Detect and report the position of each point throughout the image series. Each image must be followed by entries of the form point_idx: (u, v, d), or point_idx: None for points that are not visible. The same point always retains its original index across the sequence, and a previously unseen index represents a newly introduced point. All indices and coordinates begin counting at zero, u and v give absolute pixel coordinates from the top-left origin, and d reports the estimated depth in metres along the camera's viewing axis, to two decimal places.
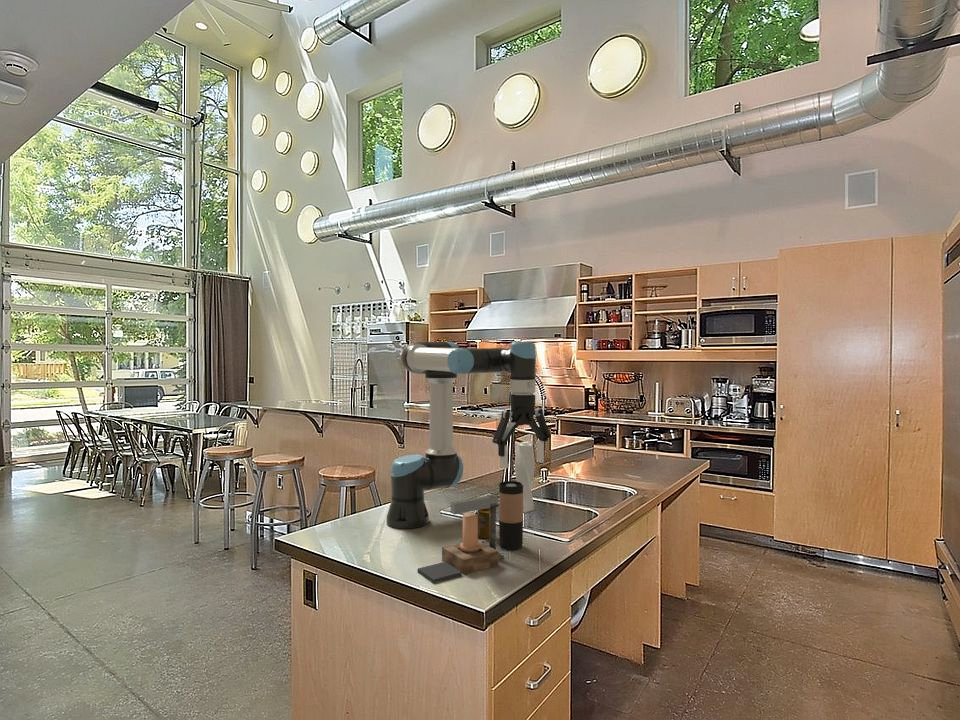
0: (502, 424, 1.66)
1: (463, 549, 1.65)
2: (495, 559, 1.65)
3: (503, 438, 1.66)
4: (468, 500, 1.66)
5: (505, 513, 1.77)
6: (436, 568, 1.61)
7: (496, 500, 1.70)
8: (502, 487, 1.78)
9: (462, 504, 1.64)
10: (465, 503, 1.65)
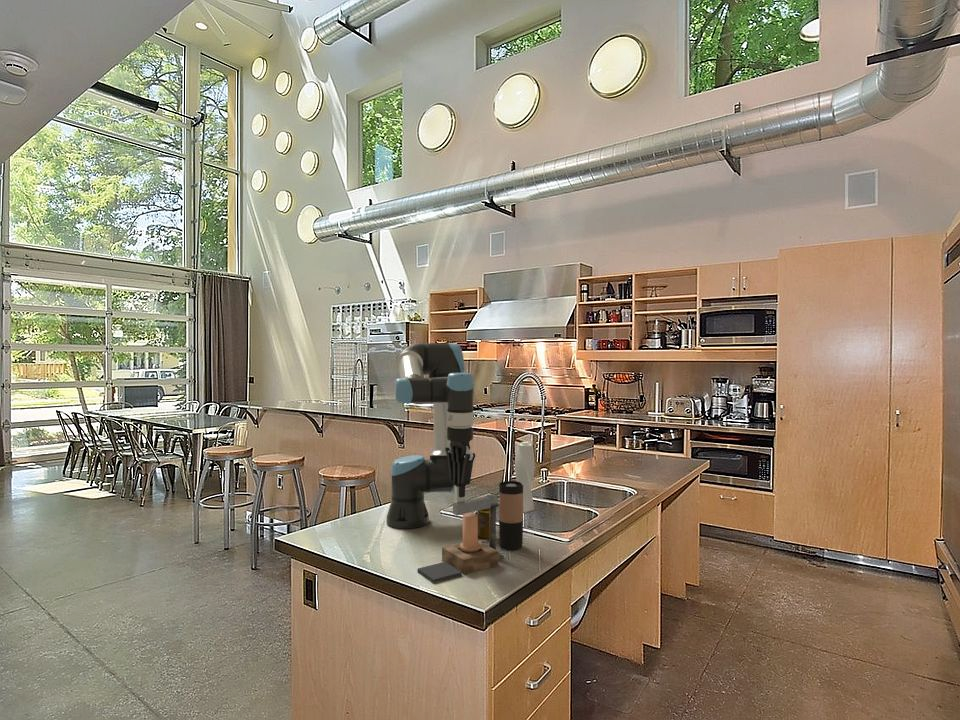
0: None
1: (463, 549, 1.65)
2: (495, 559, 1.65)
3: None
4: (469, 501, 1.66)
5: (505, 513, 1.77)
6: (436, 568, 1.61)
7: (496, 500, 1.70)
8: (502, 487, 1.78)
9: (464, 505, 1.63)
10: (467, 504, 1.64)
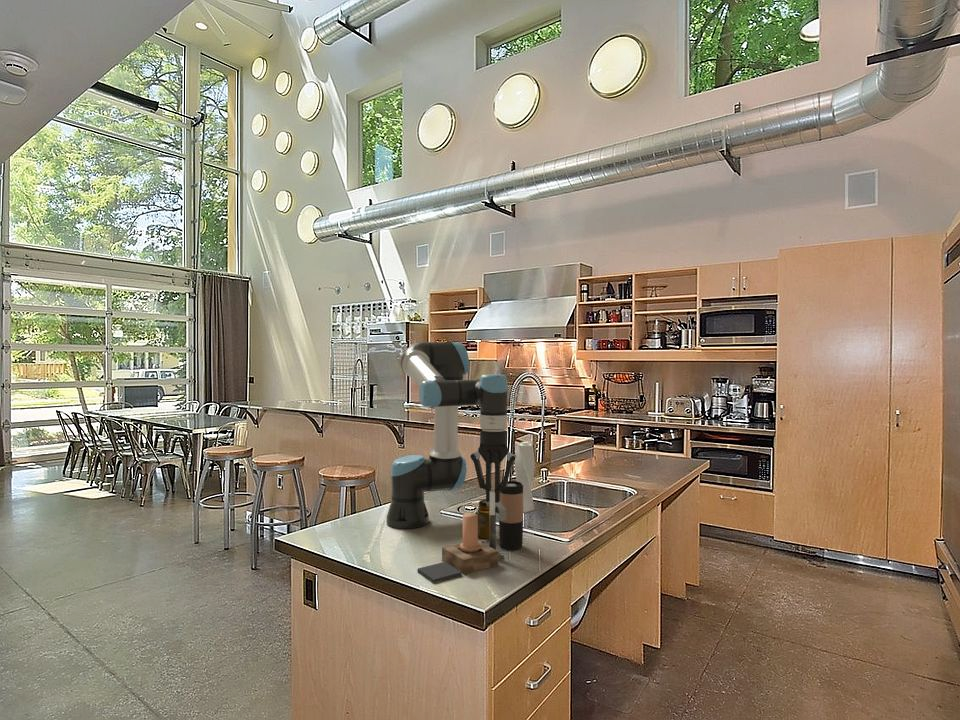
0: None
1: (463, 549, 1.65)
2: (495, 559, 1.65)
3: None
4: (498, 504, 1.63)
5: None
6: (436, 568, 1.61)
7: None
8: None
9: None
10: None
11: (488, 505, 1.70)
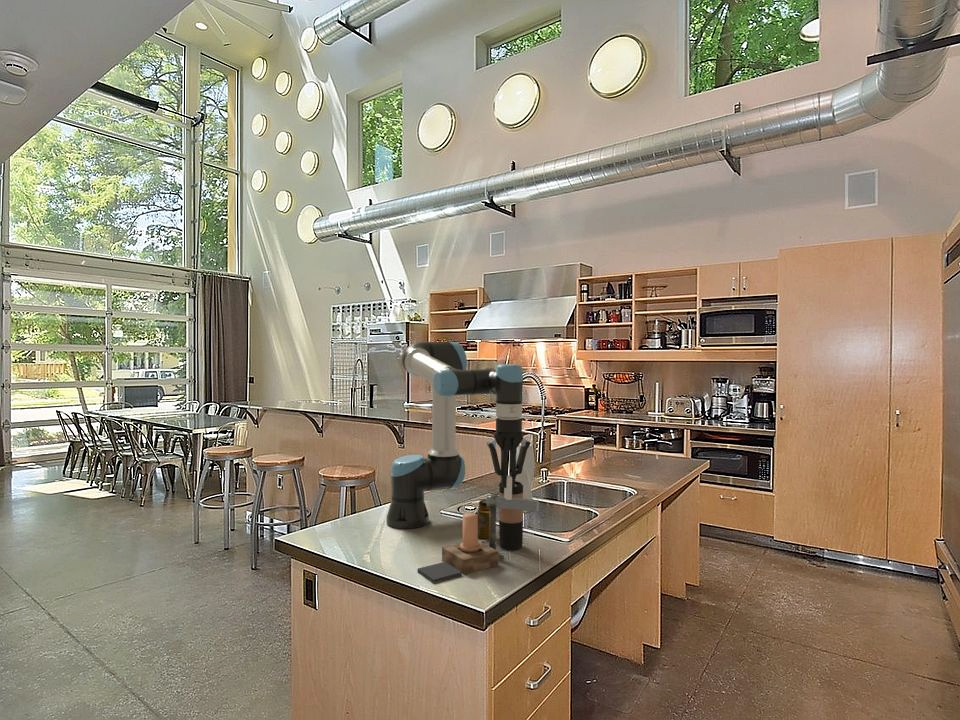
0: (492, 456, 1.64)
1: (463, 549, 1.65)
2: (495, 559, 1.65)
3: (502, 470, 1.65)
4: (520, 499, 1.68)
5: (505, 513, 1.77)
6: (436, 568, 1.61)
7: None
8: (502, 487, 1.78)
9: None
10: None
11: (494, 505, 1.70)
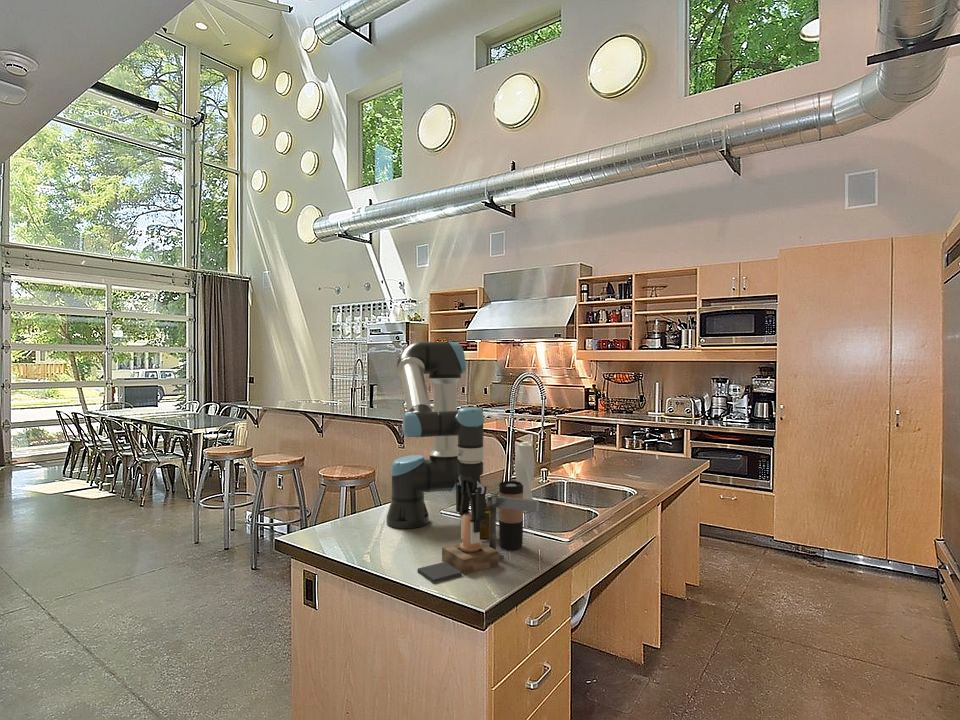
0: None
1: (463, 549, 1.65)
2: (495, 559, 1.65)
3: None
4: (520, 499, 1.68)
5: (505, 513, 1.77)
6: (436, 568, 1.61)
7: None
8: (502, 487, 1.78)
9: None
10: None
11: (494, 505, 1.70)
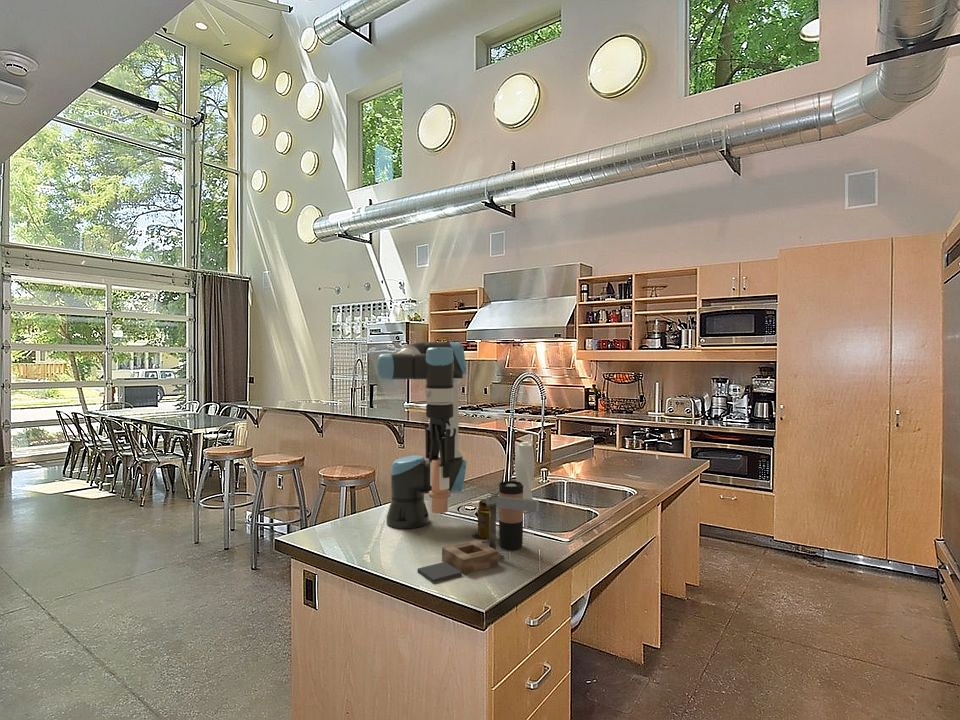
0: None
1: (432, 496, 1.56)
2: (495, 559, 1.65)
3: None
4: (520, 499, 1.68)
5: (505, 513, 1.77)
6: (436, 568, 1.61)
7: None
8: (502, 487, 1.78)
9: None
10: None
11: (494, 505, 1.70)
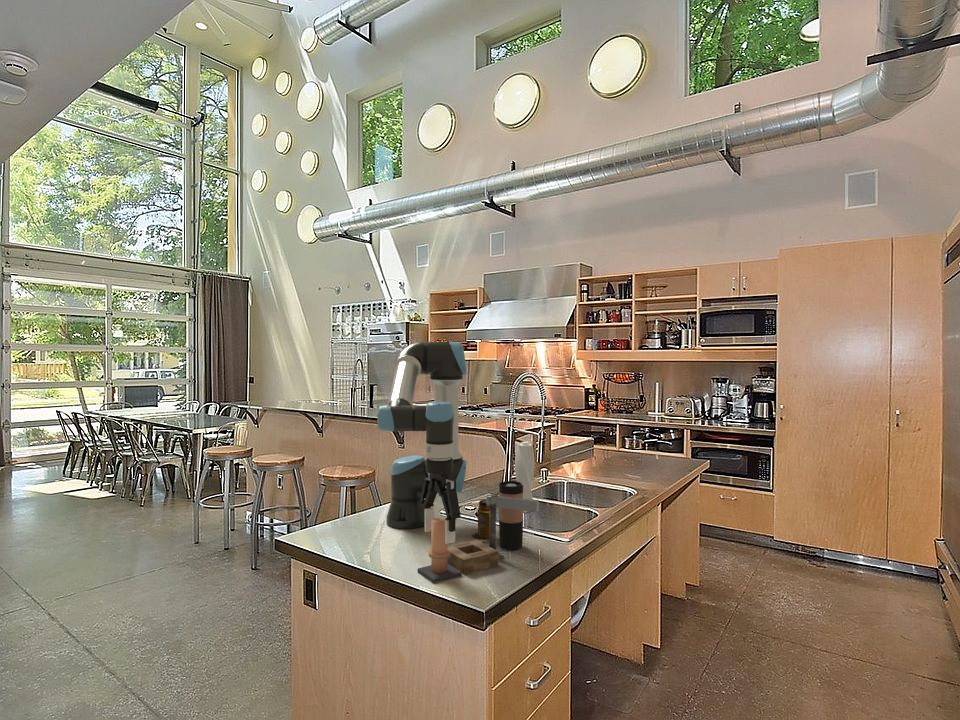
0: None
1: (431, 556, 1.57)
2: (495, 559, 1.65)
3: None
4: (520, 499, 1.68)
5: (505, 513, 1.77)
6: None
7: None
8: (502, 487, 1.78)
9: None
10: None
11: (494, 505, 1.70)
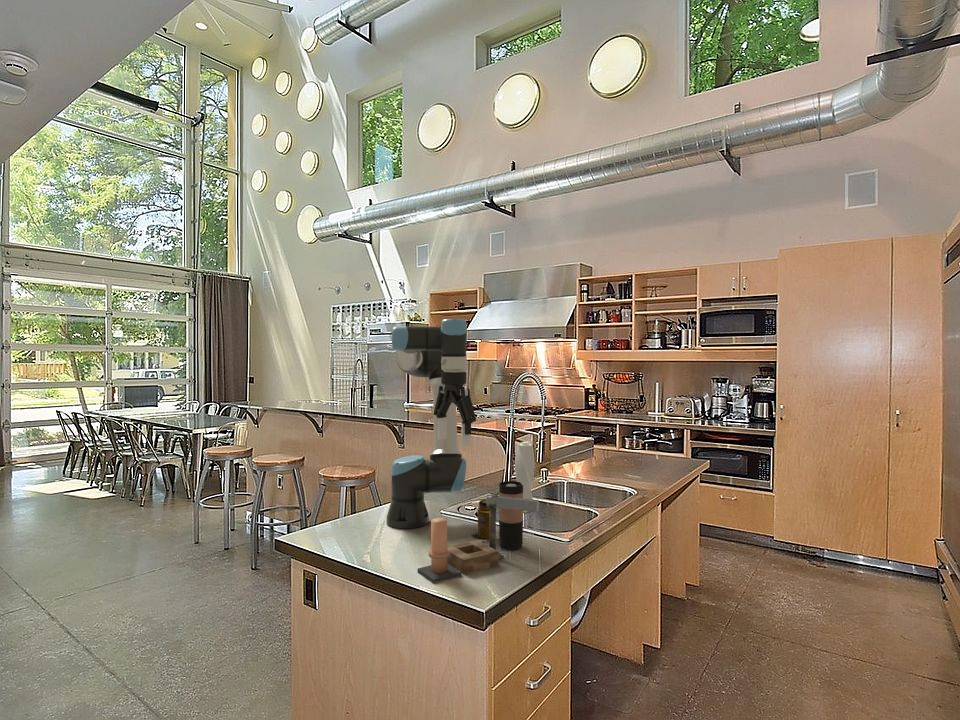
0: None
1: (431, 556, 1.57)
2: (495, 559, 1.65)
3: None
4: (520, 499, 1.68)
5: (505, 513, 1.77)
6: None
7: None
8: (502, 487, 1.78)
9: None
10: None
11: (494, 505, 1.70)
